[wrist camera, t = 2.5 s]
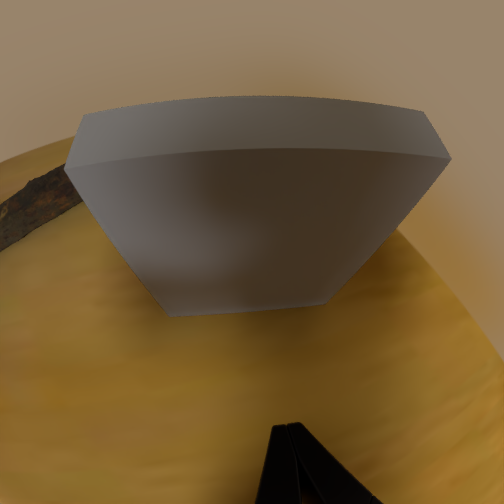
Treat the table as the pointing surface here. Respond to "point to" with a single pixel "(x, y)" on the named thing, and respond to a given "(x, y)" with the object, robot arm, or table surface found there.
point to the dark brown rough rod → (36, 205)
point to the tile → (251, 193)
